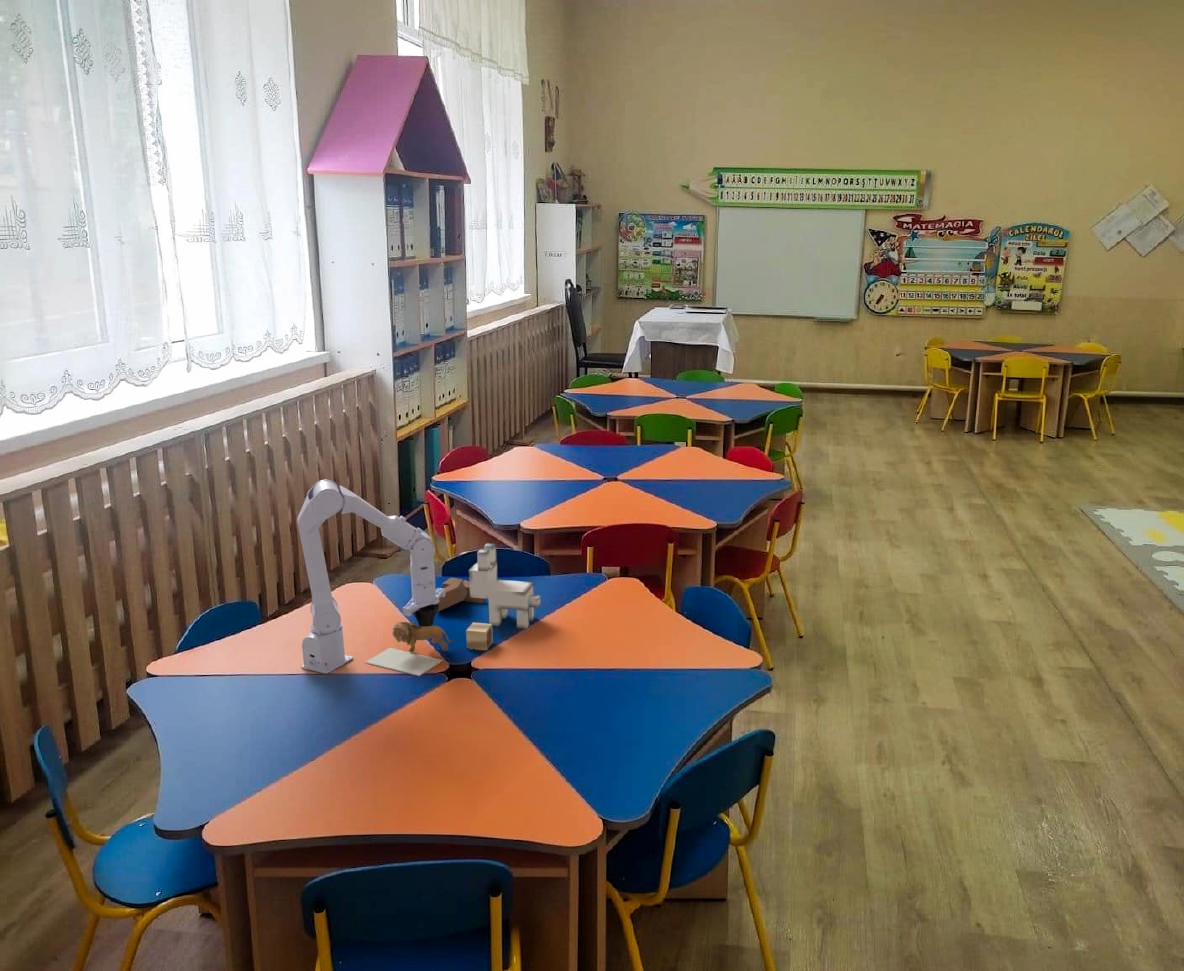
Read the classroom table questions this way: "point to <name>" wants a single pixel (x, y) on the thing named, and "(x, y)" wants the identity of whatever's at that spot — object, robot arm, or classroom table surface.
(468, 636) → the tan cube
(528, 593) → the toy llama
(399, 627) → the lion figurine
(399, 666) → the felt mat
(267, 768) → the classroom table surface
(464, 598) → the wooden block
